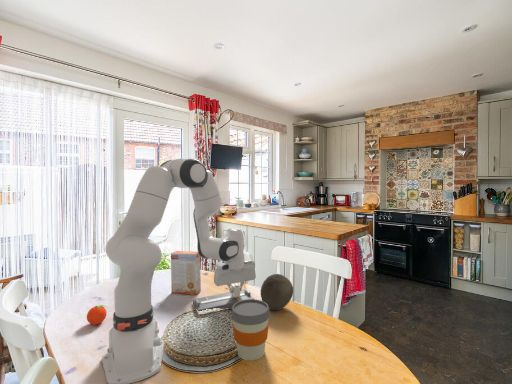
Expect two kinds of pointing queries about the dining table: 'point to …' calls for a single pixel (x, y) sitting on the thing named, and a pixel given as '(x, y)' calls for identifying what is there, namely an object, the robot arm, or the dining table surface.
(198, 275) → the cracker box
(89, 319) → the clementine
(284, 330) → the dining table surface
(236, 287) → the fader
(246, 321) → the reusable coffee cup
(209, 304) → the console
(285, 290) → the dark grey stone
